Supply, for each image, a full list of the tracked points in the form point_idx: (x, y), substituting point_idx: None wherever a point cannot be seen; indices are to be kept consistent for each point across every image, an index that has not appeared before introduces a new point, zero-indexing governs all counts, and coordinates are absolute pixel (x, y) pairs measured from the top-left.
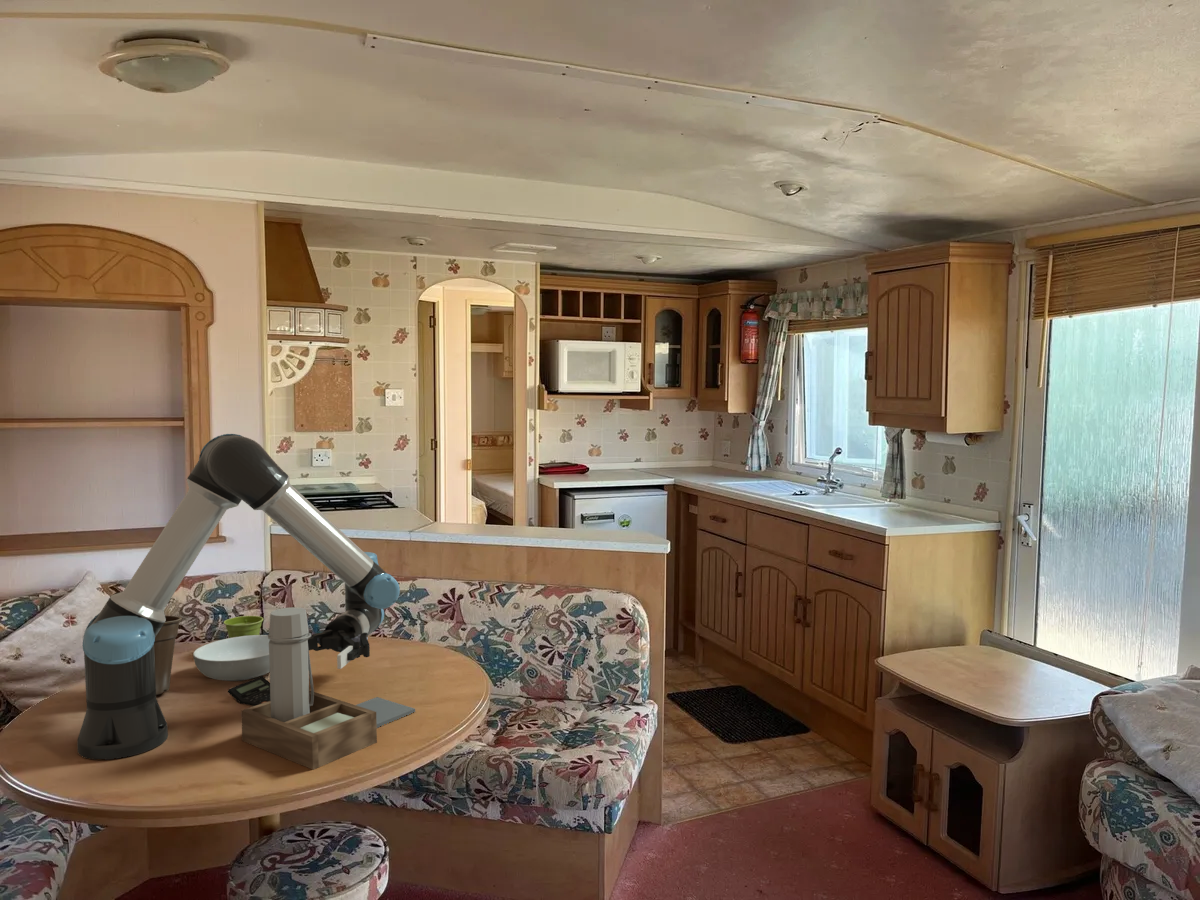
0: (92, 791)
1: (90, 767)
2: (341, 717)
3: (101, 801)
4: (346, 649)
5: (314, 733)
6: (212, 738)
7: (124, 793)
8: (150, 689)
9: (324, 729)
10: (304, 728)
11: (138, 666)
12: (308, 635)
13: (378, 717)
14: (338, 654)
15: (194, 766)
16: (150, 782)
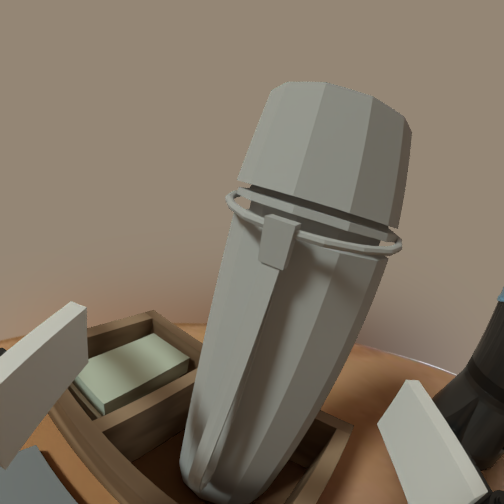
0: (381, 358)
1: (431, 391)
2: (96, 376)
3: (356, 345)
4: (14, 355)
5: (150, 316)
6: (382, 469)
7: (350, 353)
8: (486, 367)
9: (134, 321)
10: (174, 356)
11: (497, 315)
12: (261, 239)
13: (7, 487)
14: (77, 312)
15: (330, 393)
16: (347, 367)
